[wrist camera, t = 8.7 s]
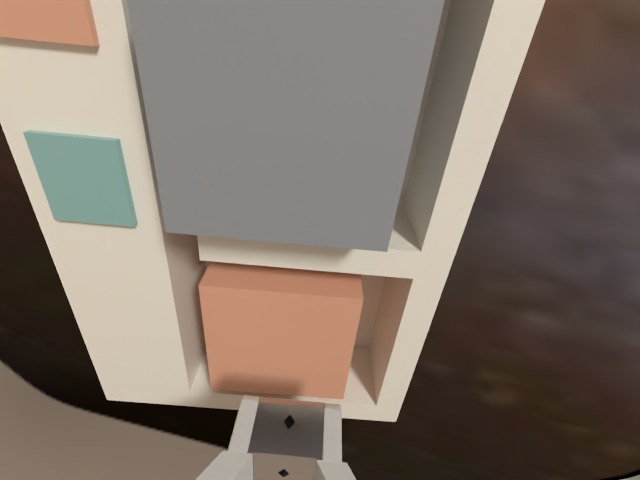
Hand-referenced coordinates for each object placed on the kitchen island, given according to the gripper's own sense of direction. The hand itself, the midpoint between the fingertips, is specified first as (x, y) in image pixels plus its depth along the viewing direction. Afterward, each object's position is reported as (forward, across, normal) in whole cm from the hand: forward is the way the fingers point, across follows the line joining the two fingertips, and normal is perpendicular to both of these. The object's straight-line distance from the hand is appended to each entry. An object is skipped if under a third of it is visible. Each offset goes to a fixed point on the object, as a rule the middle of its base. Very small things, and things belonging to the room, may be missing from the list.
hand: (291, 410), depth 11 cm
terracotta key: (+5, +1, 0) cm, 5 cm away
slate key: (+3, +1, -8) cm, 9 cm away
